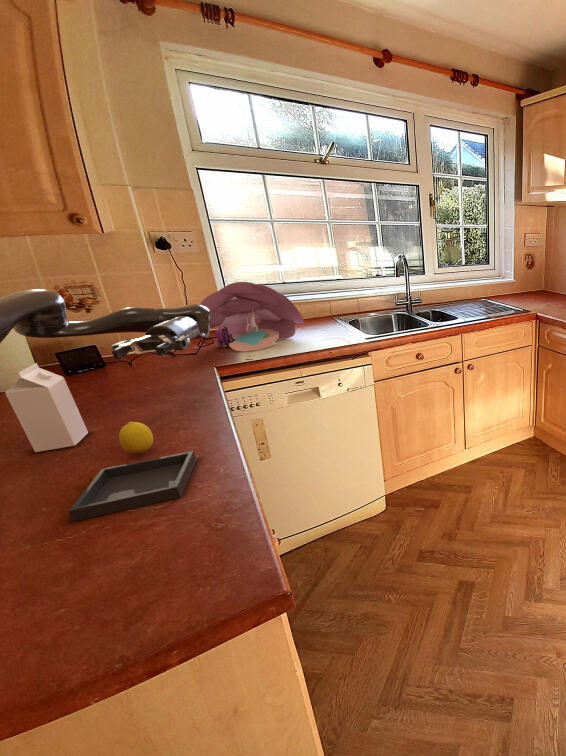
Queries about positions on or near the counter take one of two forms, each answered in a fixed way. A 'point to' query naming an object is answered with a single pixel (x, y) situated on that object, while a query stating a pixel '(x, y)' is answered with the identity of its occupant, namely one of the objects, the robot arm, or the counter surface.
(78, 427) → the milk carton
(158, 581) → the counter surface
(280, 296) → the purple shell playset
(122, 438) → the lemon
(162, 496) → the dark grey tray
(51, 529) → the counter surface
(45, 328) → the robot arm
